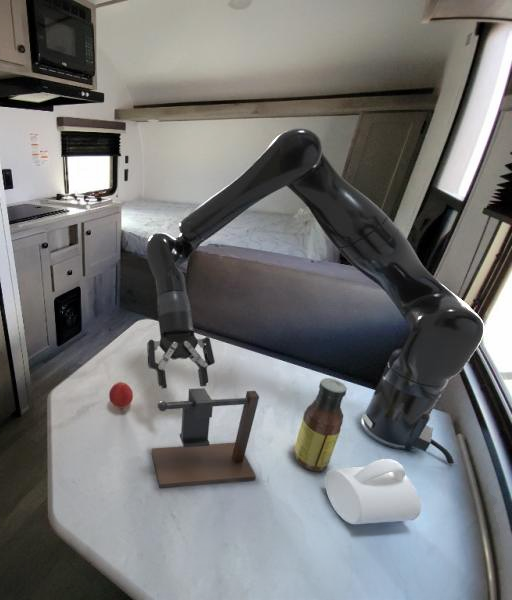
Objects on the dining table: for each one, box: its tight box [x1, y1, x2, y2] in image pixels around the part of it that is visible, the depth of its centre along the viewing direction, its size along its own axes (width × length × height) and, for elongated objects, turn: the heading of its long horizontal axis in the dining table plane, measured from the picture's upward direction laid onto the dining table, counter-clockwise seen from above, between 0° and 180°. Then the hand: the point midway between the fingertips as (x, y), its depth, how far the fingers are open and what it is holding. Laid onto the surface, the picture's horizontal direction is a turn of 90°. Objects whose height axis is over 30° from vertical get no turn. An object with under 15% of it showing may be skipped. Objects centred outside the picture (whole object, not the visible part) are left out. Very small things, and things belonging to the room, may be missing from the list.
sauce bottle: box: [293, 377, 348, 472], centre depth 62 cm, size 7×6×20 cm
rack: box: [151, 390, 260, 489], centre depth 61 cm, size 8×19×19 cm, turn 94°
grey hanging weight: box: [179, 387, 214, 447], centre depth 60 cm, size 5×5×12 cm
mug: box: [324, 458, 422, 525], centre depth 55 cm, size 8×10×12 cm
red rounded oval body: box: [108, 380, 134, 409], centre depth 79 cm, size 6×6×8 cm
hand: (184, 387), depth 68 cm, fingers open, 8 cm apart
